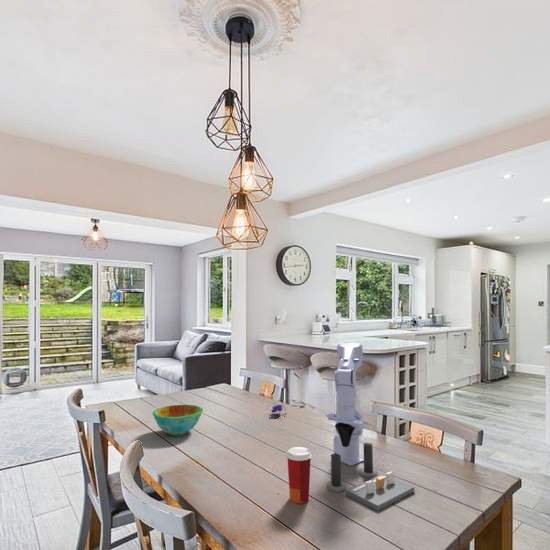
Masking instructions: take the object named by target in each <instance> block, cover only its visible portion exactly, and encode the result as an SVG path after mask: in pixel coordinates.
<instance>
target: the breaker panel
mask: <svg viewBox="0 0 550 550" xmlns="http://www.w3.org/2000/svg"><path fill="white" fill-rule="evenodd" d="M380 476H383V477H385V481H384V487H382V488H380V489H377V488H376V487H375V486H376V478H377V477H380ZM369 480H372V481H373V482H374V489H375V492H373V493H371V494H367V493H366V488H365V482H367V481H369ZM394 480H395V482H394V483H392V484H387V482H386V476H385V473H381V474H378V476H376V477H374V478H368V480H364V481H363V482H361V483H360V482H359V483H358V484H356V485H353V486H351V487H349V488H346V490H345V496H347V495H348V496H347V497H349V496H350V497H349V498H351V497H352V499H353V498H354V500H355V501H357V502H359V503H361V504H363V505H365V506H367V507H370V508H371V507H372V508H371V509H374V510H375V511H377V512H380V511H381V510H382V509H385V508H387V507H389V506H390V504H391V505H393V504H394V503H393V502H395V503H396V502H398V501H400V500H402V499H404V498H406V497H407V495H408V494H410V493H412V492H414V493H415V486H413V485H410V484H408V483H405V482H402V481H401V480H398V479H396V478H394ZM412 494H413V493H412ZM410 495H411V494H410ZM405 496H406V497H405ZM408 496H409V495H408ZM403 497H404V498H403ZM401 498H402V499H401ZM399 499H400V500H399ZM392 503H393V504H392ZM388 505H389V506H388Z"/></svg>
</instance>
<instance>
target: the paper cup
mask: <svg viewBox="0 0 550 550" xmlns="http://www.w3.org/2000/svg"><path fill="white" fill-rule="evenodd" d="M285 456H286V458H287V470H288V471H287V473H288V487H289V499H290V500H289V501H291V502H292V503H294V504H298V503H301V504H305V503H307V502H309V497H310V480H311V477H310V476H311V475H310V474H311V458H312V454H311V451H310V449H308V448H307V447H302V446H296V447H290V448H289V449H288V451H286V453H285Z"/></svg>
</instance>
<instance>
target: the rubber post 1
mask: <svg viewBox="0 0 550 550" xmlns="http://www.w3.org/2000/svg"><path fill="white" fill-rule="evenodd" d="M341 463H342V462H341V456H340V455H339V454H334V453H331V454H330V464H331V465H330V468H331V469H330V470H331V471H330V472H331V475H330V476H331V477H330V479H331V480H329V481H327V482H326V489H327V491H329V492H332V493H342V491H343V492H345V491H346V490H345V489H347V486H346V483H345V482H344V481H342V469H341V468H342V465H341ZM344 490H345V491H344Z"/></svg>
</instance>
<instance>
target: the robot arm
mask: <svg viewBox="0 0 550 550" xmlns="http://www.w3.org/2000/svg"><path fill="white" fill-rule="evenodd" d="M336 349H337V350H336V355H337V359H338V366H337V370H335V371H334V387H335V393H336V394H335V395H336V413H333V412H331V413H328V414H327V420H328V421H334V422H335V425H334V428H335V433H336V434H334V437H333V443H332V445H333V454H339V455H340V456H341V463H344V464H346V465H348V466H351V467H352V466H354V465H357V464H359V463H362V462H364V457H360V437H361V436H362V435H363V429H365V424H364V421H363V415H362V413H361V412H360V411H359V410H358V409H356V390H357V389H356V382H357V381H356V377H357V371H358V368H361V367H362V364H363V344H362V343H361V342H360V343H349V342H346V343H345V342H338V343H337V346H336Z"/></svg>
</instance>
